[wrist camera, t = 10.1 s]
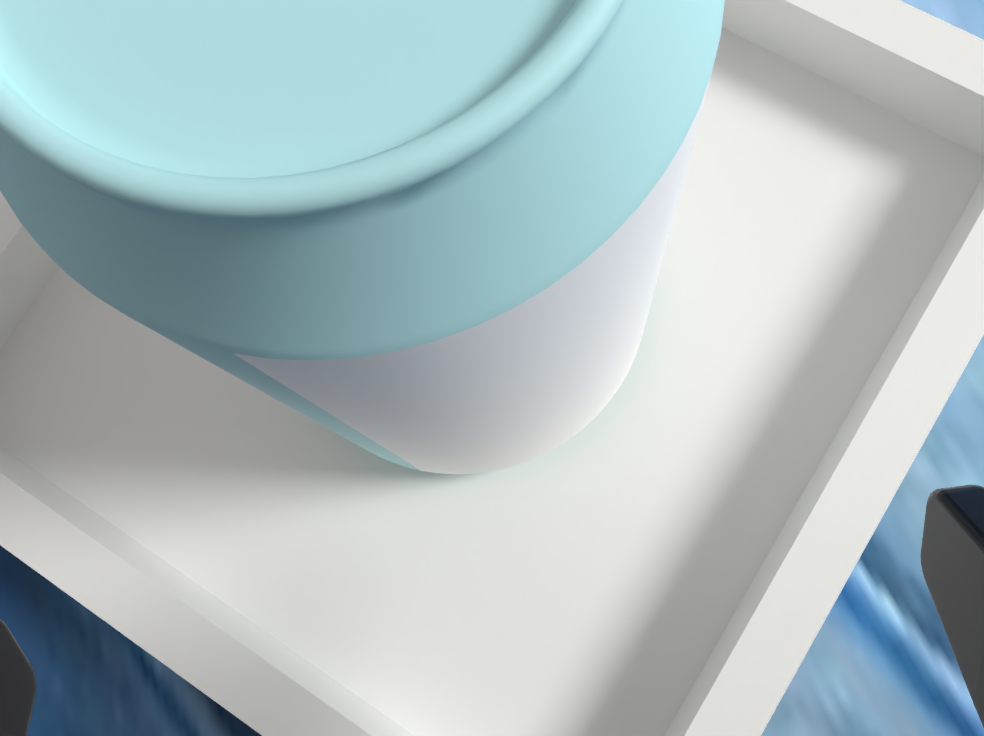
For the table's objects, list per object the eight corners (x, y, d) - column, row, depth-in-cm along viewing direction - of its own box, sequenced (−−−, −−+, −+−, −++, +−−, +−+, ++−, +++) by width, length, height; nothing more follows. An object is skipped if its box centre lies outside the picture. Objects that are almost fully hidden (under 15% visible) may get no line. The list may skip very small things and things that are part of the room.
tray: (611, 931, 17) (617, 994, 14) (-85, 435, 20) (-178, 415, 17) (1044, 161, 19) (1113, 100, 16) (358, -175, 22) (331, -267, 20)
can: (388, 87, 20) (104, -625, 8) (702, 211, 18) (914, -412, 7) (231, 386, 19) (-366, 73, 7) (553, 540, 17) (498, 479, 6)
